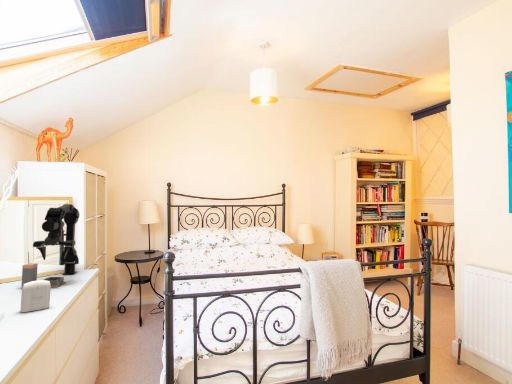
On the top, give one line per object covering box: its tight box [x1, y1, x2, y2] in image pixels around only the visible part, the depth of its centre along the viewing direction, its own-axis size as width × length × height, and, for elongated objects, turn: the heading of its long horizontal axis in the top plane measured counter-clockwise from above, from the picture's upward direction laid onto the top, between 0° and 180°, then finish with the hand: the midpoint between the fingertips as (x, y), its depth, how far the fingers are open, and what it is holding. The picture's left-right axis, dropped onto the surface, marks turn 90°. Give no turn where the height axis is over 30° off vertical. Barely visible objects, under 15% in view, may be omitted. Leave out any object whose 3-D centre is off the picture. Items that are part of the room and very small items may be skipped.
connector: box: [21, 262, 39, 289], centre depth 161 cm, size 5×5×13 cm
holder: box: [43, 276, 67, 289], centre depth 167 cm, size 9×9×4 cm
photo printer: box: [19, 279, 52, 313], centre depth 132 cm, size 10×4×12 cm, turn 134°
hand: (54, 259), depth 166 cm, fingers open, 9 cm apart
